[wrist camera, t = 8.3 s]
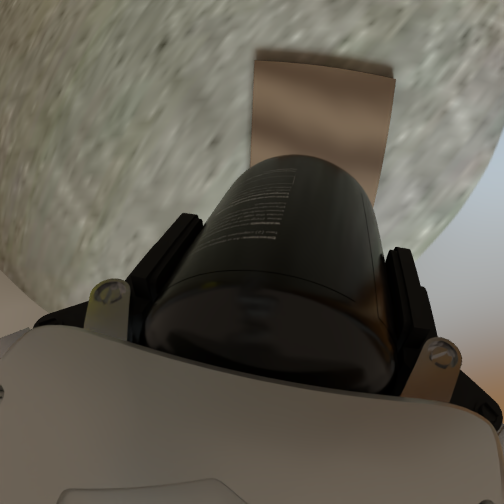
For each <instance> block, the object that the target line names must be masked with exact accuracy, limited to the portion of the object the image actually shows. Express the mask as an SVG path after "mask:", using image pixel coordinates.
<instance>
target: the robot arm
mask: <svg viewBox="0 0 504 504" xmlns="http://www.w3.org/2000/svg"><path fill="white" fill-rule="evenodd" d="M202 227H203V221H202V219H199V218H198V215H195V214H188V213H182V214H181V215H180V216H179V218H178V219H177V220H176V221H175V222H174V223H173V224H172V226H171V227H170V228H169V229H168V230H167V231H166V233H165V234H164V235H163V236H162V237H161V238H160V240H159V241H158V242H157V243H156V244H155V245H154V246H153V247H152V248H151V249H150V250H149V252H148V253H147V254H146V255H145V256H144V258H143V259H142V260H141V261H140V263H139V264H138V265H137V266H136V267H135V269H134V270H133V271H132V272H131V274H130V275H129V276H128V277H127V279H126V280H125V281H124V280H121V279H108V280H105V281H102V282H100V283H99V284H97V285H96V286H95V287H94V288H93V289H92V291H91V293H90V297H89V301H87V302H84V303H81V304H78V305H75V306H71V307H68V308H65V309H62V310H59V311H56V312H53V313H50V314H47V315H45V316H43V317H41V318H40V319H39V320H38V321H37V322H36V323H35V325H34V327H33V329H31V330H30V328H29V327H28V328H26V329H23V330H20V331H18V332H15V333H13V334H10V335H7V336H5V337H2V338H0V504H504V424H503V423H502V420H503V416H502V411H501V409H500V407H499V405H498V404H497V403H496V402H495V401H494V400H493V399H492V398H491V397H490V396H489V395H488V394H487V393H485V391H483V390H482V389H481V388H480V387H479V386H478V385H477V384H476V383H475V382H473V381H472V380H471V379H470V378H469V377H468V376H467V375H466V374H465V373H463V372H462V371H461V370H460V368H461V365H462V356H461V353H460V351H459V349H458V347H457V346H456V345H455V344H454V343H452V342H451V341H449V340H448V339H445V338H442V337H438V336H437V332H436V327H435V323H434V319H433V315H432V310H431V306H430V302H429V298H428V295H427V291H426V289H425V288H424V287H422V286H420V282H419V278H418V274H417V271H416V267H415V263H414V260H413V256H412V253H411V250H410V249H405V248H400V247H395V249H394V250H389V252H388V255H387V259H386V262H385V265H386V271H387V277H388V283H389V289H390V296H391V302H392V309H393V317H394V325H395V333H396V342H397V352H398V383H397V387H396V391H395V394H394V396H387V395H378V394H370V393H361V392H353V391H345V390H338V389H331V388H324V387H318V386H312V385H306V384H300V383H294V382H289V381H283V380H278V379H273V378H267V377H262V376H258V375H253V374H248V373H244V372H239V371H235V370H230V369H226V368H222V367H218V366H213V365H209V364H205V363H201V362H197V361H194V360H190V359H186V358H182V357H179V356H175V355H171V354H168V353H164V352H161V351H157V350H154V349H151V348H147V347H144V346H141V345H138V341H139V334H140V329H141V326H142V323H143V321H144V318H145V316H146V314H147V313H148V311H149V309H150V307H151V305H152V304H153V302H154V300H155V299H156V297H157V296H158V294H159V292H160V291H161V289H162V288H163V286H164V285H165V283H166V281H167V280H168V278H169V277H170V275H171V274H172V272H173V271H174V269H175V268H176V266H177V265H178V263H179V261H180V260H181V258H182V257H183V255H184V254H185V252H186V251H187V249H188V248H189V246H190V245H191V243H192V242H193V240H194V239H195V237H196V236H197V235H198V233H199V232H200V230H201V229H202Z"/></svg>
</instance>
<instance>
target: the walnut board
mask: <svg viewBox="0 0 504 504" xmlns="http://www.w3.org/2000/svg"><path fill="white" fill-rule="evenodd" d="M395 82H396V79H393V78H389V77H384V76H379V75H374V74H369V73H364V72H358V71H353V70H347V69H340V68H334V67H326V66H319V65H310V64H301V63H290V62H277V61H259V60H255V65H254V88H253V112H252V137H251V162H250V168H251V167H252V166H254V165H255V164H257V163H259V162H261V161H264V160H266V159H269V158H272V157H276V156H281V155H289V154H301V155H309V156H314V157H318V158H321V159H324V160H327V161H329V162H332V163H334V164H335V165H337V166H339V167H341V168H342V169H344V170H345V171H347V172H348V173H349V174H350V175H351V176H353V177H354V178H355V179H356V180H357V182H358V183H359V184H360V185H361V186H362V188H363V189H364V191H365V192H366V194H367V196H368V198H369V200H370V202H371V204H372V207H373V206H374V202H375V197H376V193H377V188H378V183H379V178H380V174H381V169H382V164H383V158H384V153H385V148H386V142H387V136H388V130H389V124H390V118H391V111H392V104H393V97H394V90H395Z"/></svg>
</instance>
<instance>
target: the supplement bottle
mask: <svg viewBox="0 0 504 504" xmlns="http://www.w3.org/2000/svg"><path fill="white" fill-rule="evenodd" d="M138 345H141V346H144V347H147V348H151V349H154V350H157V351H161V352H164V353H168V354H171V355H175V356H179V357H182V358H186V359H190V360H194V361H197V362H201V363H205V364H209V365H213V366H218V367H222V368H226V369H230V370H235V371H239V372H244V373H248V374H253V375H258V376H262V377H267V378H273V379H278V380H283V381H289V382H294V383H300V384H306V385H312V386H318V387H324V388H331V389H338V390H345V391H353V392H361V393H370V394H378V395H387V396H394V394H395V391H396V387H397V383H398V352H397V342H396V333H395V325H394V317H393V309H392V302H391V296H390V289H389V283H388V277H387V271H386V265H385V260H384V255H383V249H382V244H381V239H380V235H379V230H378V225H377V221H376V217H375V213H374V210H373V207H372V204H371V202H370V200H369V198H368V196H367V194H366V192H365V191H364V189H363V188H362V186H361V185H360V184H359V183H358V182H357V180H356V179H355V178H354V177H353V176H351V175H350V174H349V173H348V172H347V171H345V170H344V169H342V168H341V167H339V166H337V165H335V164H334V163H332V162H329V161H327V160H324V159H321V158H318V157H314V156H309V155H301V154H289V155H281V156H276V157H272V158H269V159H266V160H264V161H261V162H259V163H257V164H255V165H254V166H252V167H251V168H249V169H248V170H246V171H245V172H244V173H243V174H242V175H241V176H240V177H239V178H238V179H237V180H236V181H235V182H234V183H233V185H232V186H231V187H230V189H229V190H228V191H227V193H226V194H225V195H224V197H223V198H222V200H221V201H220V203H219V204H218V205H217V207H216V208H215V210H214V211H213V213H212V214H211V216H210V217H209V218H208V220H207V221H206V223H205V224H204V226H203V227H202V229H201V230H200V232H199V233H198V235H197V236H196V237H195V239H194V240H193V242H192V243H191V245H190V246H189V248H188V249H187V251H186V252H185V254H184V255H183V257H182V258H181V260H180V261H179V263H178V265H177V266H176V268H175V269H174V271H173V272H172V274H171V275H170V277H169V278H168V280H167V281H166V283H165V285H164V286H163V288H162V289H161V291H160V292H159V294H158V296H157V297H156V299H155V300H154V302H153V304H152V305H151V307H150V309H149V311H148V313H147V314H146V316H145V318H144V321H143V323H142V326H141V329H140V334H139V341H138Z"/></svg>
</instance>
